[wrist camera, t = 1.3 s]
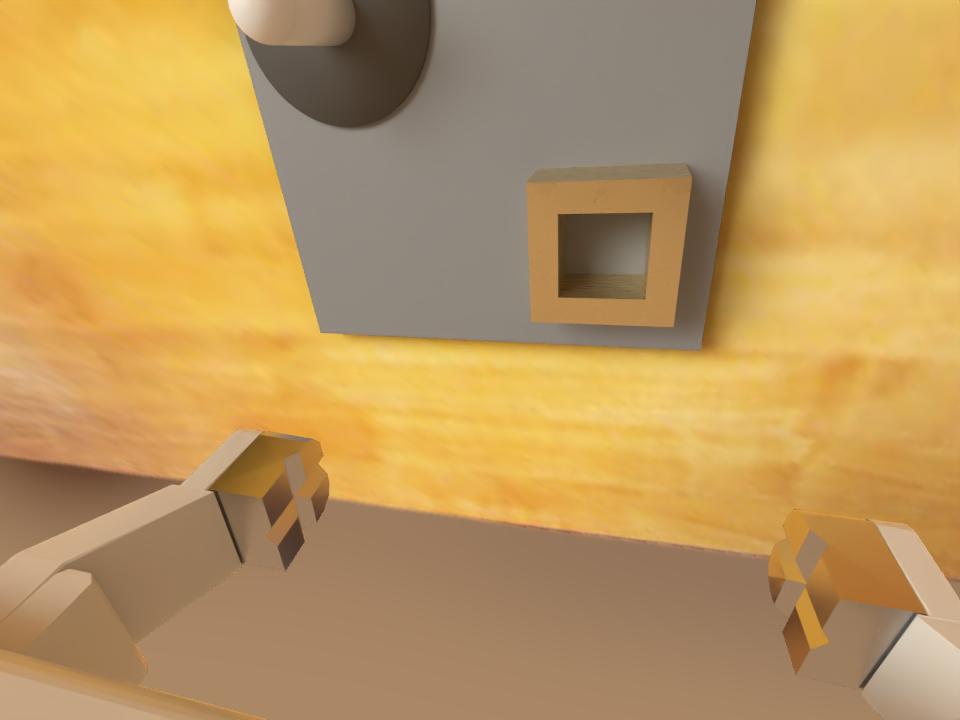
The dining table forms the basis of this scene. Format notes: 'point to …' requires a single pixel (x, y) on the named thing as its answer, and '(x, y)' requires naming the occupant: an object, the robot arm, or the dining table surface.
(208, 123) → the dining table surface
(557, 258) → the wooden collar
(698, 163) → the post board
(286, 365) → the dining table surface
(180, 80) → the dining table surface
